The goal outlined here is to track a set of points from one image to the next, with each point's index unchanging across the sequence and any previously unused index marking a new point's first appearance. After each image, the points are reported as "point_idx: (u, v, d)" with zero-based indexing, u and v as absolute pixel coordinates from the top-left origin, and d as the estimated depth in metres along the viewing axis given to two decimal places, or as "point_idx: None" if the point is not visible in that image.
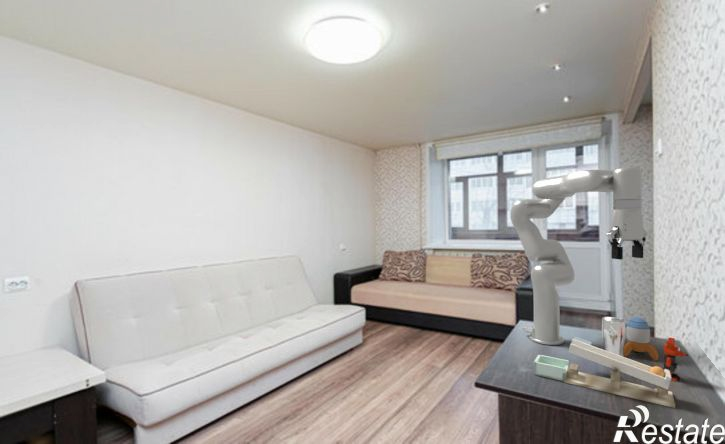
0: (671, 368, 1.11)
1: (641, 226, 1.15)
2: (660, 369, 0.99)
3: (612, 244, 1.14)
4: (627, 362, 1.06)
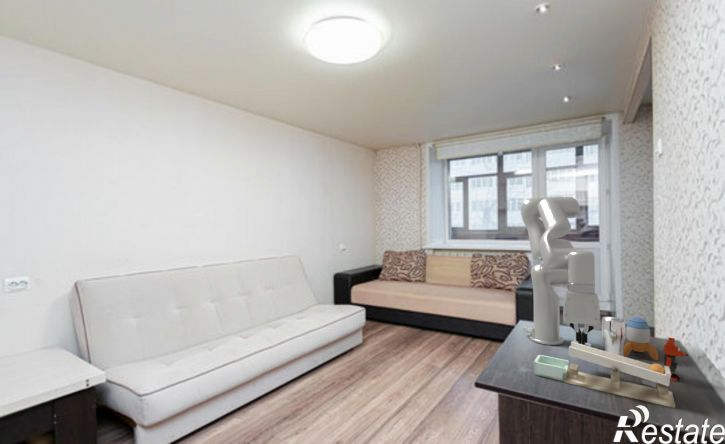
0: (671, 368, 1.11)
1: None
2: (659, 366, 0.99)
3: (589, 331, 1.16)
4: (627, 361, 1.06)
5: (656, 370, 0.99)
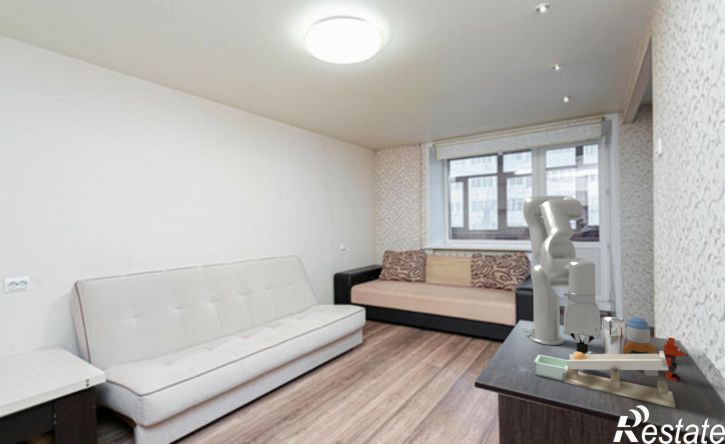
0: (671, 368, 1.11)
1: None
2: (584, 357, 1.10)
3: (589, 341, 1.16)
4: (625, 358, 1.06)
5: (579, 357, 1.10)
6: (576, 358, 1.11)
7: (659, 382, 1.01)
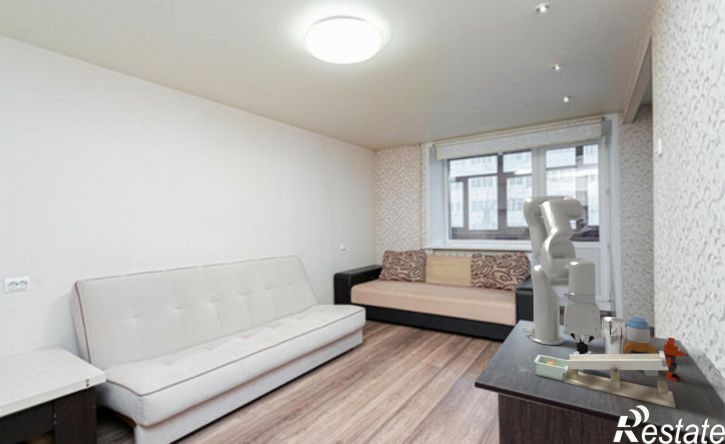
0: (671, 368, 1.11)
1: None
2: (553, 364, 1.15)
3: (589, 341, 1.16)
4: (625, 358, 1.06)
5: None
6: None
7: (659, 382, 1.01)
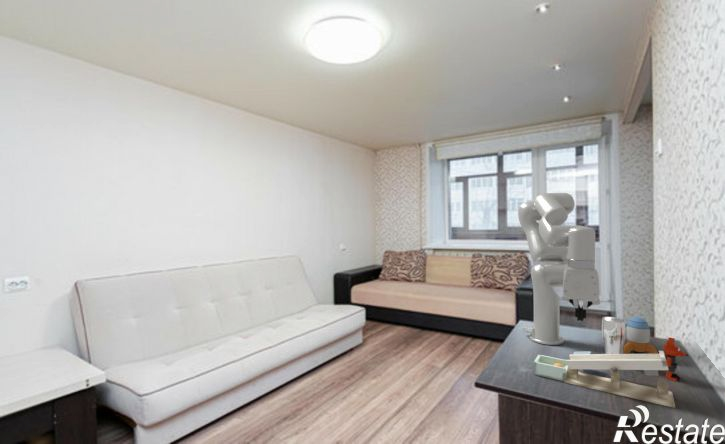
0: (671, 368, 1.11)
1: None
2: None
3: None
4: (625, 358, 1.06)
5: None
6: None
7: (659, 382, 1.01)
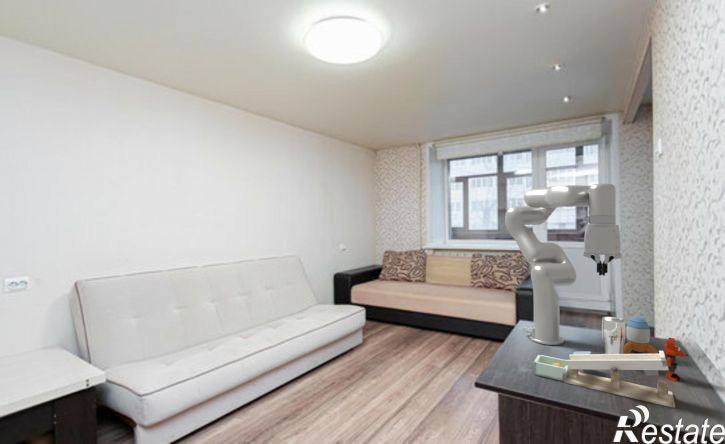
0: (671, 368, 1.11)
1: None
2: None
3: (609, 261, 1.19)
4: (625, 358, 1.06)
5: None
6: None
7: (659, 382, 1.01)
